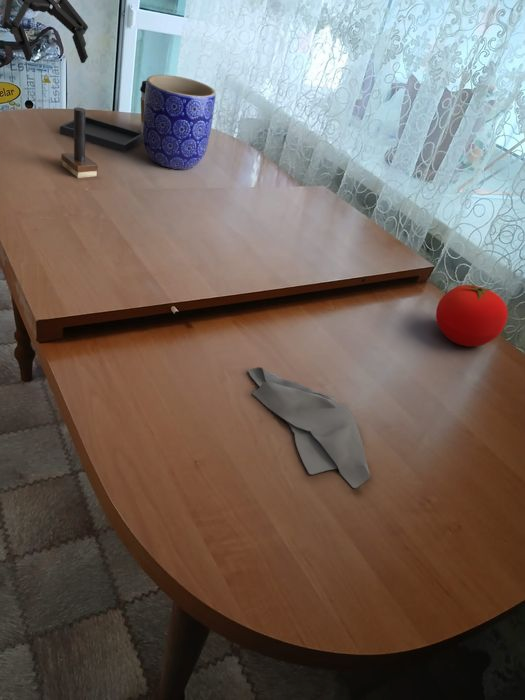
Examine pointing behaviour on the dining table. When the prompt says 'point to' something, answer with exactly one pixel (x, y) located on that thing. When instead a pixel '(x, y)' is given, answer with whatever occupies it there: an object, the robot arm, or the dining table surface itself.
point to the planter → (177, 120)
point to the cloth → (316, 426)
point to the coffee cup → (142, 102)
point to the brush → (79, 150)
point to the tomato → (471, 315)
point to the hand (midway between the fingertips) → (58, 59)
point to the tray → (106, 134)
